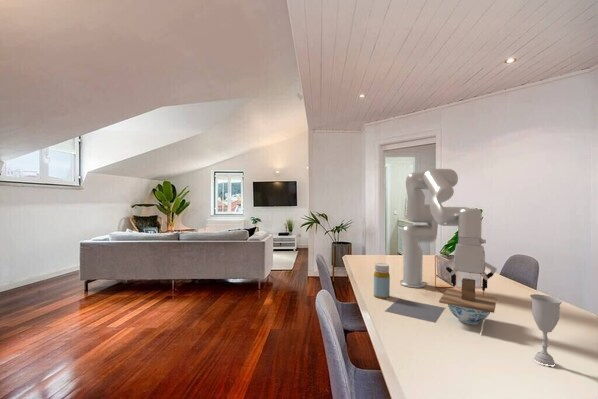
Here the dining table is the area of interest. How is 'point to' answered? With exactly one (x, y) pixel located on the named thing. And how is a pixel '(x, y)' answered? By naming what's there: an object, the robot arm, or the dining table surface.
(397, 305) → the mat
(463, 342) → the dining table surface
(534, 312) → the chalice
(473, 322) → the chinaware
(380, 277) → the bottle
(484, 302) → the cover
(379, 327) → the dining table surface
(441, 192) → the robot arm
